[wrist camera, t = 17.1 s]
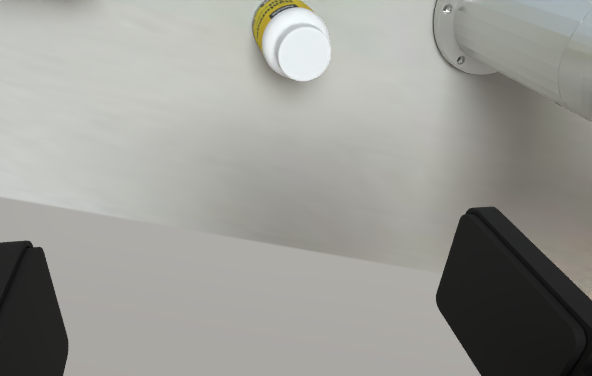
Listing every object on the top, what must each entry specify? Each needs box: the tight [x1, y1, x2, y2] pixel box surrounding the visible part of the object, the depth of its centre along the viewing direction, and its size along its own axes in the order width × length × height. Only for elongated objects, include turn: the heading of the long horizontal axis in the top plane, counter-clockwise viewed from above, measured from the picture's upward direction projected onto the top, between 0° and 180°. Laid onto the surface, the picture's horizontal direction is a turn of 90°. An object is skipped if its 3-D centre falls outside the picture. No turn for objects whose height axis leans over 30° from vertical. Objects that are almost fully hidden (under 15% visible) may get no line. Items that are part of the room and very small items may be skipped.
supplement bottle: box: [252, 0, 331, 81], centre depth 37 cm, size 5×5×10 cm
